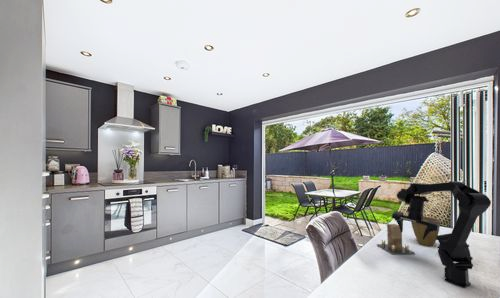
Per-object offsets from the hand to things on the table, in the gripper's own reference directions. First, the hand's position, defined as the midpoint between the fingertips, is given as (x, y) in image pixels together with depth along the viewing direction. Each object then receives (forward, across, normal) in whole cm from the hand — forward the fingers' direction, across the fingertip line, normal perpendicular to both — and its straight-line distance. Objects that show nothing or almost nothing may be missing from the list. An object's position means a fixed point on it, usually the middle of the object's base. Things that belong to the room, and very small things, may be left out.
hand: (412, 235), depth 112 cm
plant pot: (+16, -3, -33) cm, 37 cm away
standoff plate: (+14, +8, -7) cm, 18 cm away
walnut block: (+13, +8, -7) cm, 17 cm away
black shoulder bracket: (+12, -16, -14) cm, 25 cm away
